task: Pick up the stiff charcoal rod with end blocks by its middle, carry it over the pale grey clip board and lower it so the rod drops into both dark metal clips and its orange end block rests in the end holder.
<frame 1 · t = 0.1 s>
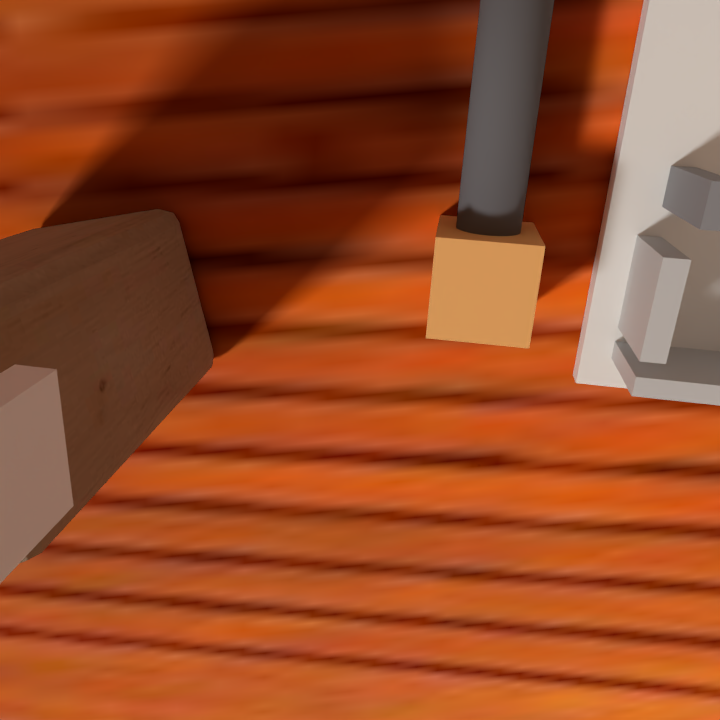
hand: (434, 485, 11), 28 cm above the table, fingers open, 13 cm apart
wooden block: (128, 296, 42), on the table
rod with end blocks: (505, 67, 34), on the table
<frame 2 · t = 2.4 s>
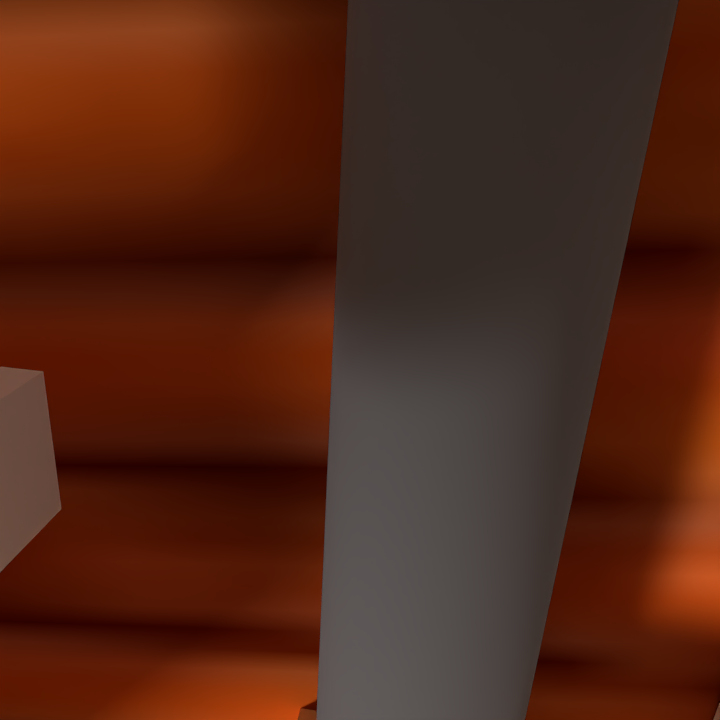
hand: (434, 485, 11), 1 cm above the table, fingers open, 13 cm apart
rod with end blocks: (446, 431, 12), on the table
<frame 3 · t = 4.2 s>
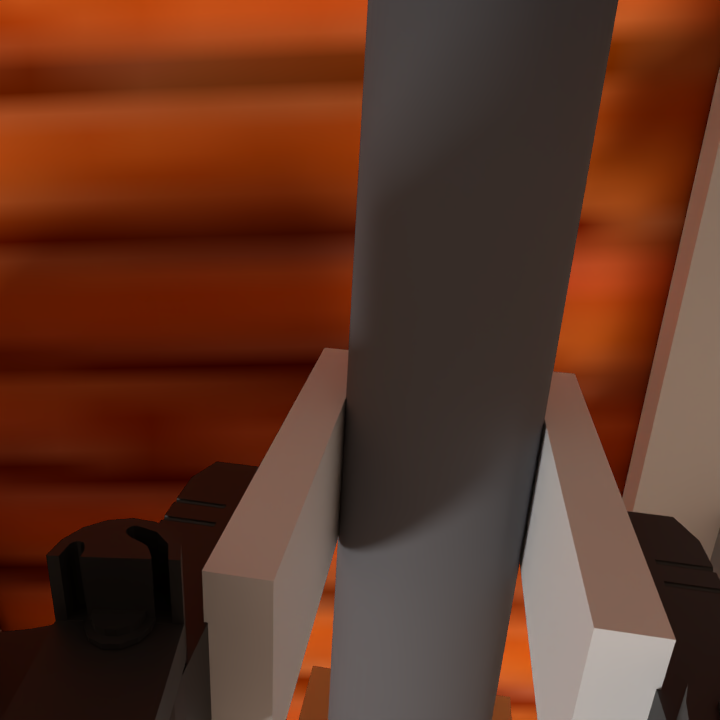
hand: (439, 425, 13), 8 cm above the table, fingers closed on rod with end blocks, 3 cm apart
rod with end blocks: (439, 414, 14), point 6 cm above the table, touching gripper
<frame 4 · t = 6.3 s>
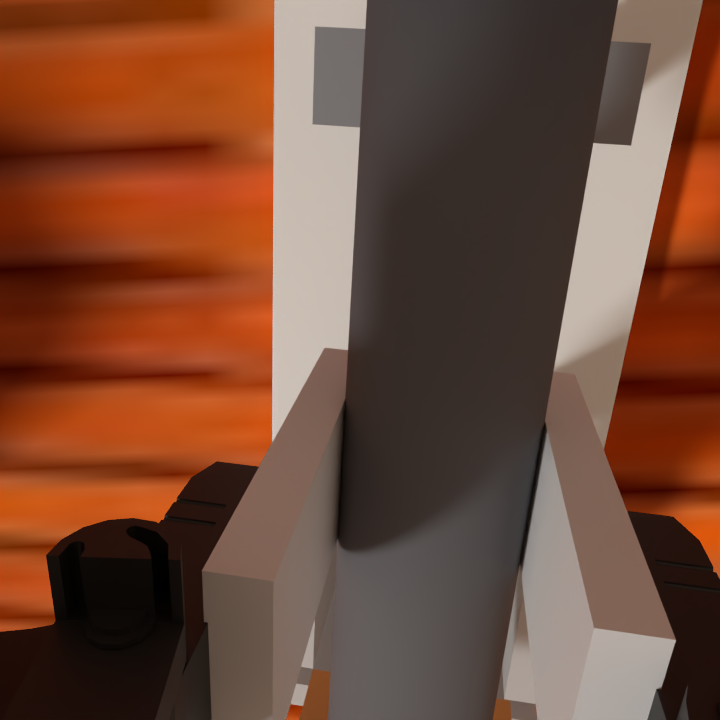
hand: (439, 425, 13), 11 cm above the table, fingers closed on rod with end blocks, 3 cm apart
clip board: (444, 326, 24), on the table
rod with end blocks: (439, 417, 14), point 10 cm above the table, touching gripper
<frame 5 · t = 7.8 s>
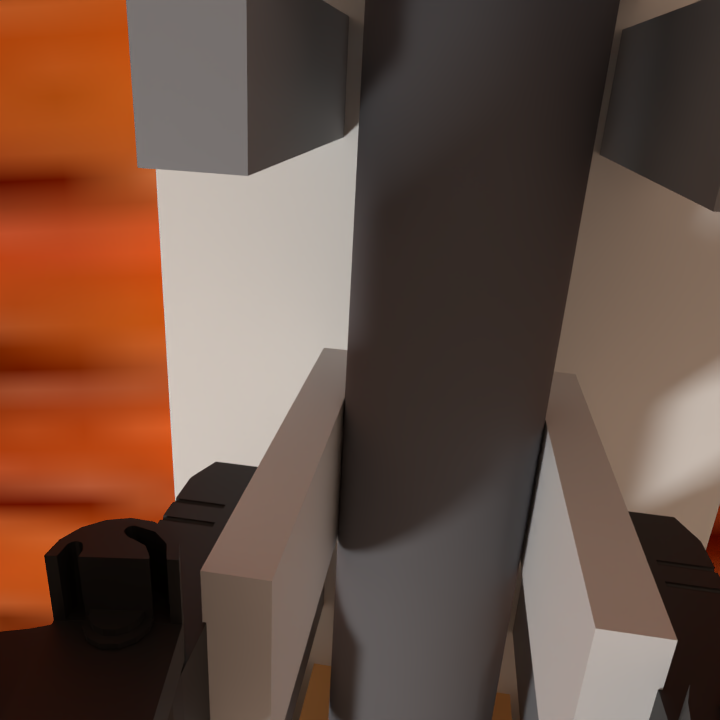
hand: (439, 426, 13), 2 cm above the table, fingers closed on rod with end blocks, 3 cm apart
clip board: (434, 450, 16), on the table
rod with end blocks: (439, 415, 14), point 1 cm above the table, touching clip board, gripper
when the fingers open (2 cm above the table, at t = 8.4 s): rod with end blocks stays where it is, resting on clip board.
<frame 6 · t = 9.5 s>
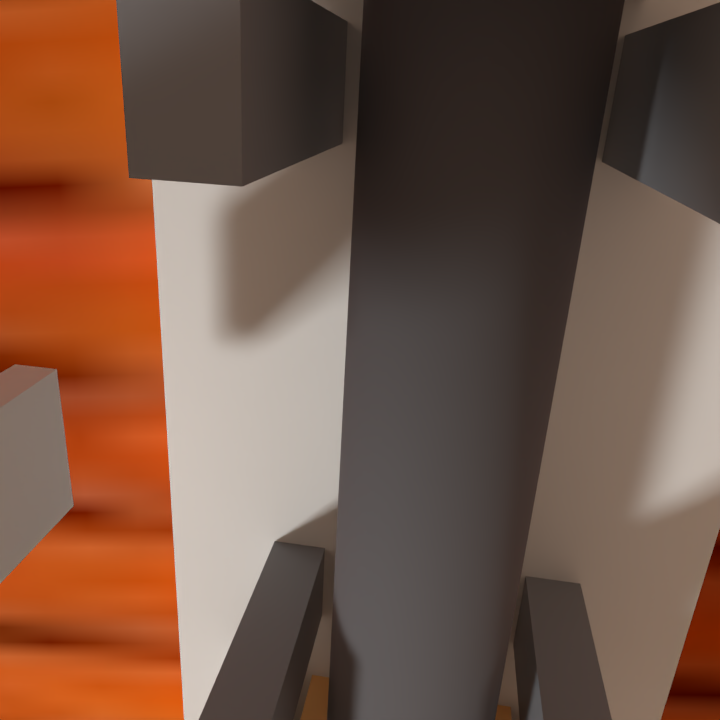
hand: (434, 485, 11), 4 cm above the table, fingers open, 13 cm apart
clip board: (434, 459, 16), on the table
rod with end blocks: (439, 425, 14), point 1 cm above the table, touching clip board
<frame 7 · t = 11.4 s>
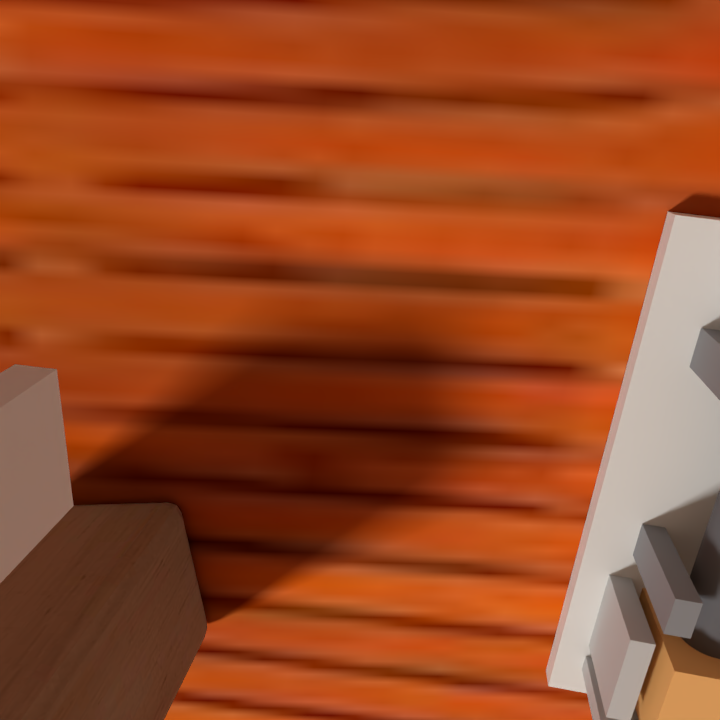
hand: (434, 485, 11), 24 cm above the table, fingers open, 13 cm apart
wooden block: (128, 563, 44), on the table
clip board: (713, 490, 36), on the table
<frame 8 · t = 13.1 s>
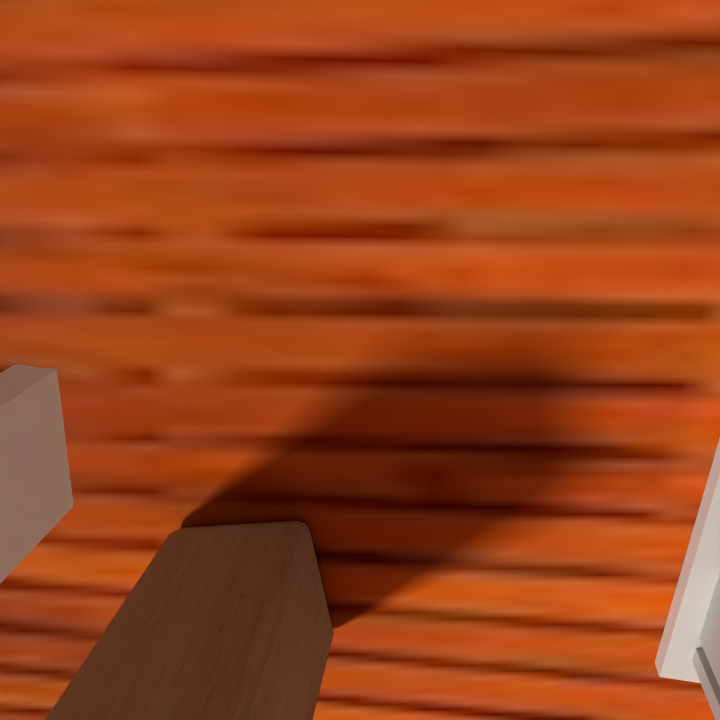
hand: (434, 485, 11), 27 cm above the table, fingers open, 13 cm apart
wooden block: (256, 577, 47), on the table
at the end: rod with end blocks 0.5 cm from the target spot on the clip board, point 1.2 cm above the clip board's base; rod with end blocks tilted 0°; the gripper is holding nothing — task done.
